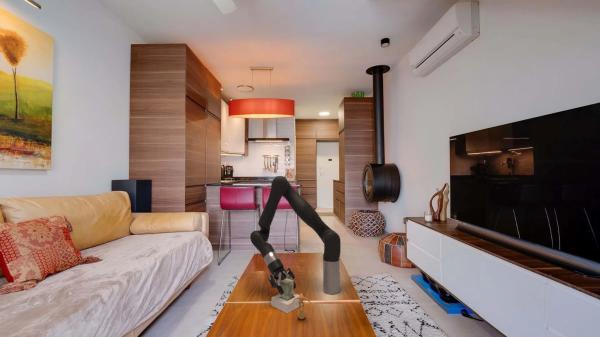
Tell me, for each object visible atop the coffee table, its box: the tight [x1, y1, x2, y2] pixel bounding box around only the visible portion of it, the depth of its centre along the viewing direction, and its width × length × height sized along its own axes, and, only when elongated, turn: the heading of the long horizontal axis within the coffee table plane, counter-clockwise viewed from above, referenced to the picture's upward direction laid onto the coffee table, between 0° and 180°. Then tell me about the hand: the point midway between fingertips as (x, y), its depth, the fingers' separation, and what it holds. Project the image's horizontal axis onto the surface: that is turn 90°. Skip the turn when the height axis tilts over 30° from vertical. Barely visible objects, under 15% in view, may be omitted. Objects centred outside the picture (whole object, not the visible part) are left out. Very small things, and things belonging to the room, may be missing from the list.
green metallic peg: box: [280, 278, 294, 301], centre depth 128 cm, size 4×4×12 cm
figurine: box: [292, 292, 312, 320], centre depth 115 cm, size 8×6×12 cm
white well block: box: [271, 292, 303, 314], centre depth 128 cm, size 11×11×4 cm
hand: (289, 291), depth 127 cm, fingers open, 8 cm apart
